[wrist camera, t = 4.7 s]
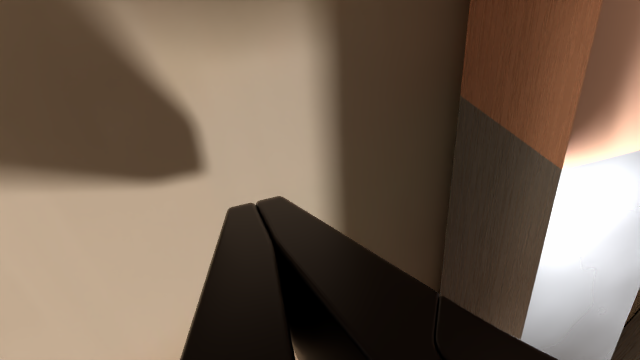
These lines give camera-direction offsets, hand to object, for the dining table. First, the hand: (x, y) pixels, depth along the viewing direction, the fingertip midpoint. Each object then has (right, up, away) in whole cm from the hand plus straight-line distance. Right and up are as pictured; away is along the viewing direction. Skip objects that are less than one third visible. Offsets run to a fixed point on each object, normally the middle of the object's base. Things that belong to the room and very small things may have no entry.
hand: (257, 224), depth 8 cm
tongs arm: (+5, -2, +4) cm, 7 cm away
